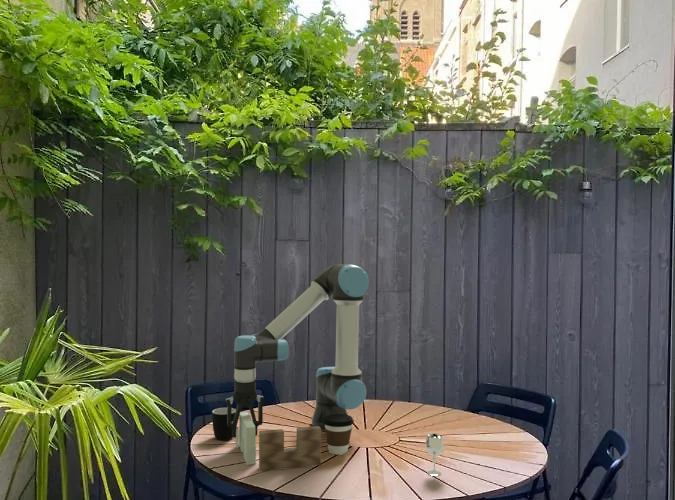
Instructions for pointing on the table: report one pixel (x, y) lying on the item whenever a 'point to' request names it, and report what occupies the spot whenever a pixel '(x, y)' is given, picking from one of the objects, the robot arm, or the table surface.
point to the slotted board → (289, 449)
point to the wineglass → (434, 449)
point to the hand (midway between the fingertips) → (244, 445)
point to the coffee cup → (338, 432)
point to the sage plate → (247, 438)
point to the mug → (222, 423)
